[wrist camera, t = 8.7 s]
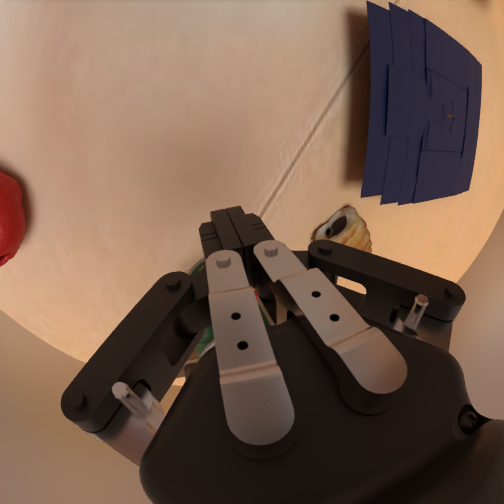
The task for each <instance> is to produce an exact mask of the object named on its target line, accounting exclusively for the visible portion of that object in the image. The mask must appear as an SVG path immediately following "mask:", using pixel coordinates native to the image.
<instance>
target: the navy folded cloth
mask: <svg viewBox="0 0 504 504" xmlns="http://www.w3.org/2000/svg"><path fill="white" fill-rule="evenodd" d="M366 2H367V11H368V23H369V37H370V64H371V95H370V114H369V128H368V140H367V150H366V159H365V168H364V176H363V183H362V190H361V197H360V198H362V197H369V196H376V195H382V197H381V202H380V205H382V204H389V203H396V202H398V205H403V204H409V203H413V204H414V203H419V202H424V201H429V200H434V199H438V198H443V197H448V196H453V195H457V194H460V193H462V192H465V191H468V190H469V187H470V182H471V177H472V172H473V166H474V160H475V154H476V146H477V138H478V128H479V119H480V107H481V89H482V65H481V64H480V63H479V62H478V61H477V60H476V58H475V57H474V56H473V55H472V54H471V53H470V52H469V51H468V50H467V49H466V48H464V47H463V46H462V45H461V44H460V43H458V42H457V41H456V40H455V39H453V38H452V37H451V36H450V35H448V34H447V33H446V32H444V31H443V30H441V29H440V28H439V27H437V26H436V25H434V24H433V23H432V22H430V21H429V20H427V19H426V18H425V19H424V18H423V17H421V16H419V15H418V14H416V13H414V12H413V11H411V10H409V9H408V11H409V12H408V11H406V10H404V9H402V8H400V7H398V6H396V5H394V4H392V3H390V2H389V8H390V11H389V10H387V9H385V8H382V7H380V6H378V5H376V4H374V3H371V2H369V1H367V0H366Z"/></svg>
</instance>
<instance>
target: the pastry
mask: <svg viewBox="0 0 504 504" xmlns="http://www.w3.org/2000/svg"><path fill="white" fill-rule="evenodd" d="M321 239H325V240H331V241H334V242H337V243H340V244H344V245H347V246H350V247H353V248H356V249H359V250H362V251H365V252H368V253H371V252H372V248H371V245H372V242H371V240H370V233H369V231H368V229H367V225H366V222H365V221H364V220H363V219H362V218H361V217H360V216H359V215H358V213H357V212H356V209H355V208H353V207H346V208H343V209H341V210H339V211H337V212H336V213H335V214H334V215H333V216H332V217H331V218H330V220H329V221H328V222H327V223H326V224H325V225H323V226H322V227H321V228H319V229H318V231H317V233H316V235H315V241H316V240H321Z"/></svg>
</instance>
